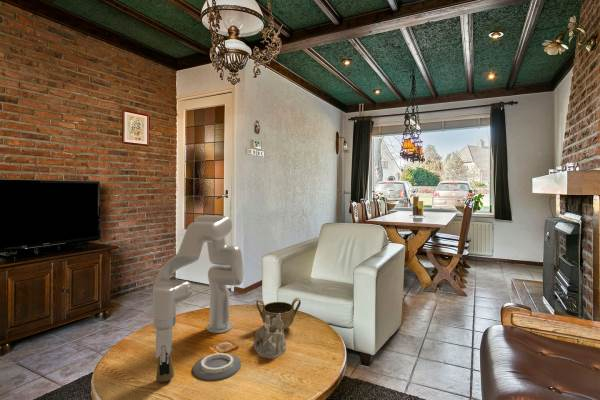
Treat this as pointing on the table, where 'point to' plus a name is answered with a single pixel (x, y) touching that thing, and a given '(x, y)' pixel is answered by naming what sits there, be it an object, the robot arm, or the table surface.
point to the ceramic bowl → (279, 311)
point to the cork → (171, 372)
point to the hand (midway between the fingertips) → (165, 370)
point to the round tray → (216, 366)
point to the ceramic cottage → (270, 338)
